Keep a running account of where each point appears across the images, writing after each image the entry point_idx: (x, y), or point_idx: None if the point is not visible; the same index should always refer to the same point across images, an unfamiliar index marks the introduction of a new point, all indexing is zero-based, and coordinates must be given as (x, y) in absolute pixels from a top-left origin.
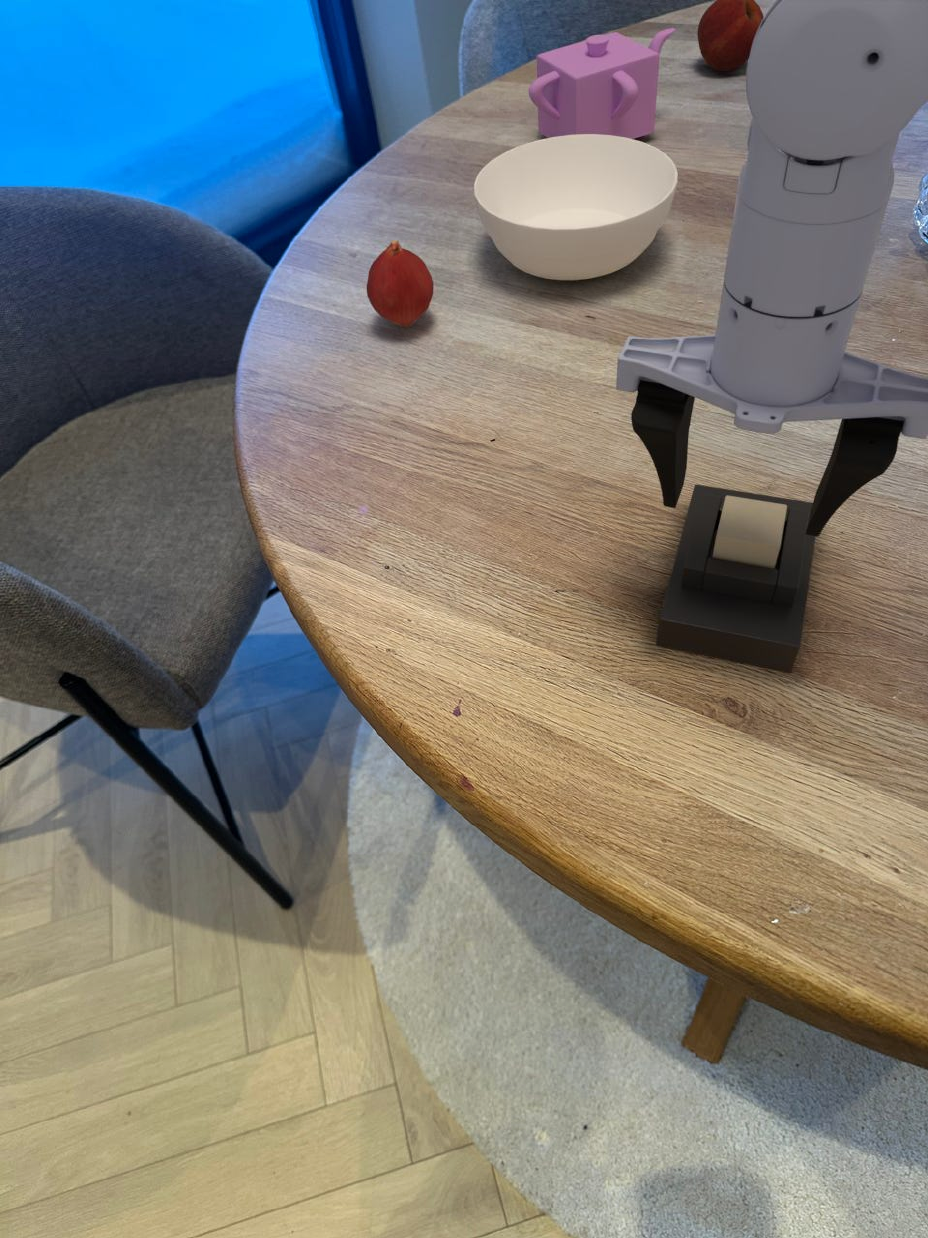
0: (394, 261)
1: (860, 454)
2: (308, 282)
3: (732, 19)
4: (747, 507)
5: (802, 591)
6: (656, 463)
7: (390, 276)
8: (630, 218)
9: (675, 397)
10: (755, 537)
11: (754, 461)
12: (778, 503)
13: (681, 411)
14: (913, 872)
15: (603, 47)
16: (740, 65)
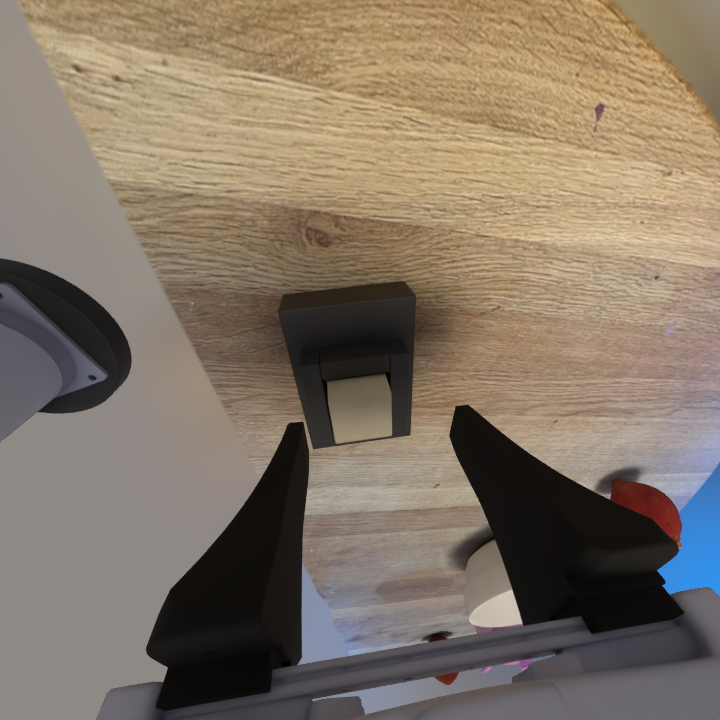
0: (671, 532)
1: (213, 634)
2: (681, 488)
3: None
4: (370, 430)
5: (297, 370)
6: (533, 459)
7: (669, 519)
8: (497, 595)
9: (602, 608)
10: (354, 403)
11: (368, 461)
12: None
13: (572, 578)
14: (59, 74)
15: (522, 663)
16: (430, 640)
